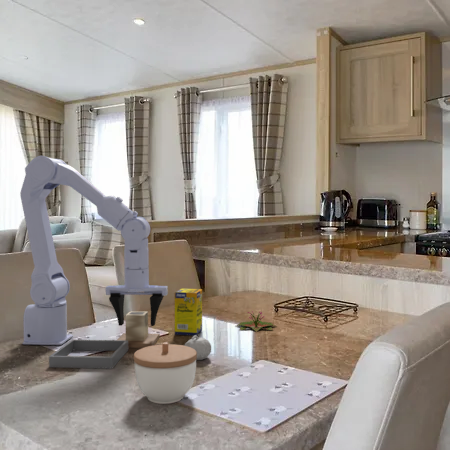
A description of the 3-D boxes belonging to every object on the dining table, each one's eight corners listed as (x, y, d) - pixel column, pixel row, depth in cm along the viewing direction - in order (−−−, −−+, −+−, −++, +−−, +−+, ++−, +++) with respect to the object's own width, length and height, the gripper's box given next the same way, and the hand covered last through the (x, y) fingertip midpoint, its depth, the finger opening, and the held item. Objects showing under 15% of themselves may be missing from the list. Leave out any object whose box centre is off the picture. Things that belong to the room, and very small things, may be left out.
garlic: (190, 364, 107) (190, 339, 106) (180, 357, 111) (180, 333, 111) (216, 360, 109) (216, 336, 109) (205, 353, 114) (205, 330, 114)
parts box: (125, 340, 121) (125, 314, 121) (130, 335, 126) (130, 310, 125) (144, 340, 121) (144, 314, 121) (148, 336, 125) (148, 311, 125)
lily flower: (277, 323, 145) (277, 307, 144) (279, 334, 133) (279, 316, 132) (234, 323, 145) (234, 307, 145) (232, 333, 133) (232, 316, 133)
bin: (49, 367, 105) (49, 356, 105) (72, 349, 118) (72, 339, 118) (112, 368, 104) (112, 357, 104) (128, 350, 117) (128, 340, 117)
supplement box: (197, 336, 129) (196, 292, 129) (174, 334, 130) (173, 291, 130) (202, 330, 135) (202, 288, 135) (180, 329, 136) (180, 288, 136)
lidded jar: (136, 387, 94) (136, 335, 93) (196, 385, 94) (195, 334, 94) (131, 410, 83) (130, 353, 82) (197, 408, 84) (197, 351, 83)
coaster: (113, 347, 119) (113, 343, 119) (123, 337, 128) (123, 333, 128) (152, 347, 119) (152, 343, 119) (159, 337, 128) (159, 333, 128)
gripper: (101, 270, 119) (102, 328, 120) (163, 270, 118) (164, 329, 119) (110, 266, 126) (110, 321, 127) (169, 266, 125) (169, 322, 126)
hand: (137, 324), depth 123 cm, fingers open, 7 cm apart
